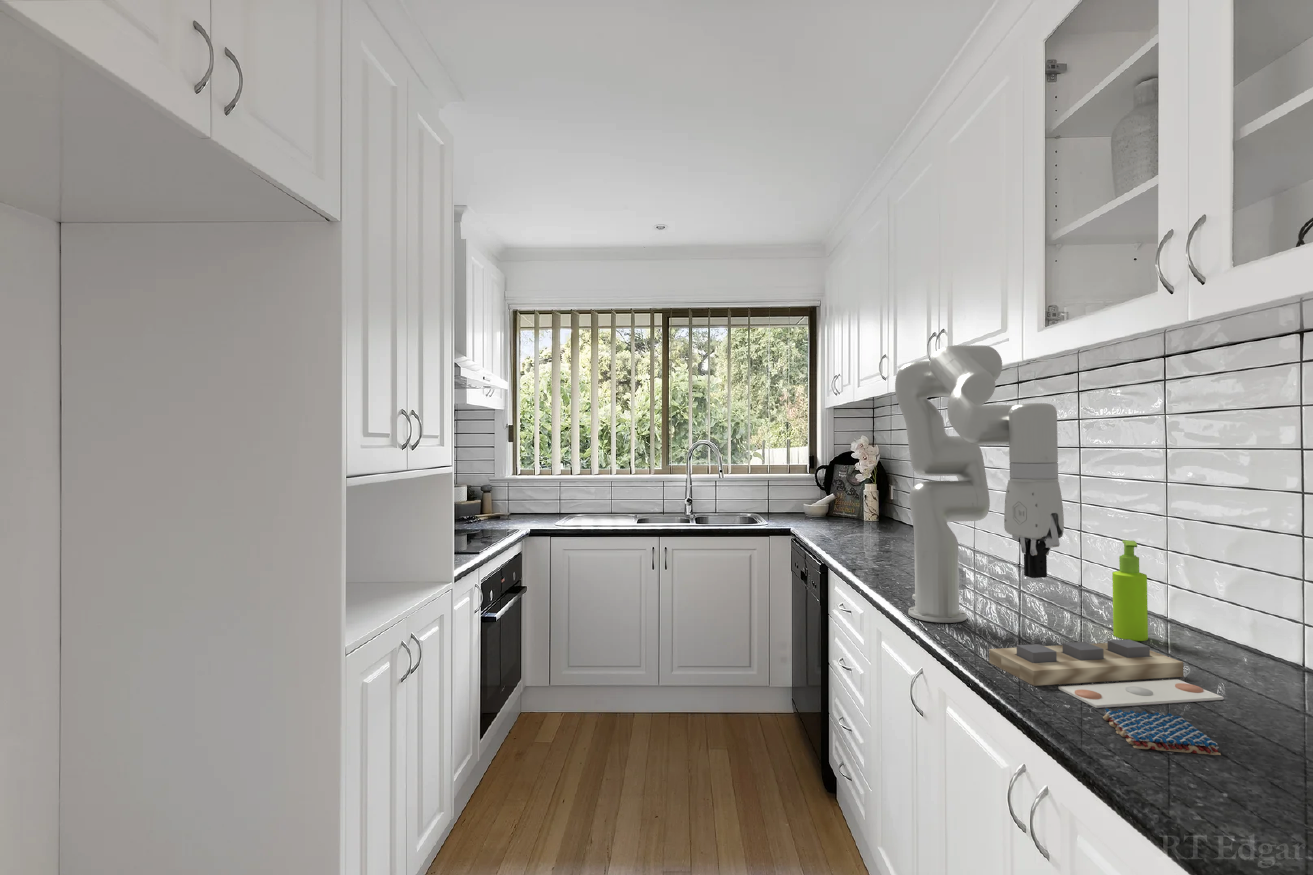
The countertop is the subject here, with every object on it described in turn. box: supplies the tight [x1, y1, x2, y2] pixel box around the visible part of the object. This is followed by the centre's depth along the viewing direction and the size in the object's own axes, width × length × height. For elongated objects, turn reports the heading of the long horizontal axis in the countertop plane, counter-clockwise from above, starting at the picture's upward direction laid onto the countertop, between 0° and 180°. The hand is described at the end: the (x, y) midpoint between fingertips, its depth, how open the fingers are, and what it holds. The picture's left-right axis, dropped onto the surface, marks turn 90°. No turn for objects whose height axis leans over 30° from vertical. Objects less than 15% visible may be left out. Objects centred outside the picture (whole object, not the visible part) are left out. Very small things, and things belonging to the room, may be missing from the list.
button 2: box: [1062, 641, 1104, 661], centre depth 120 cm, size 4×4×2 cm
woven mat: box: [1102, 708, 1222, 756], centre depth 93 cm, size 10×11×2 cm
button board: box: [988, 642, 1184, 687], centre depth 120 cm, size 28×12×2 cm, turn 97°
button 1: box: [1016, 643, 1057, 663], centre depth 119 cm, size 4×4×2 cm
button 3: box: [1107, 639, 1151, 658], centre depth 121 cm, size 4×4×2 cm
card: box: [1058, 678, 1224, 709], centre depth 108 cm, size 22×8×1 cm, turn 97°
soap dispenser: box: [1111, 539, 1149, 642], centre depth 139 cm, size 6×7×20 cm
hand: (1035, 576), depth 119 cm, fingers closed
